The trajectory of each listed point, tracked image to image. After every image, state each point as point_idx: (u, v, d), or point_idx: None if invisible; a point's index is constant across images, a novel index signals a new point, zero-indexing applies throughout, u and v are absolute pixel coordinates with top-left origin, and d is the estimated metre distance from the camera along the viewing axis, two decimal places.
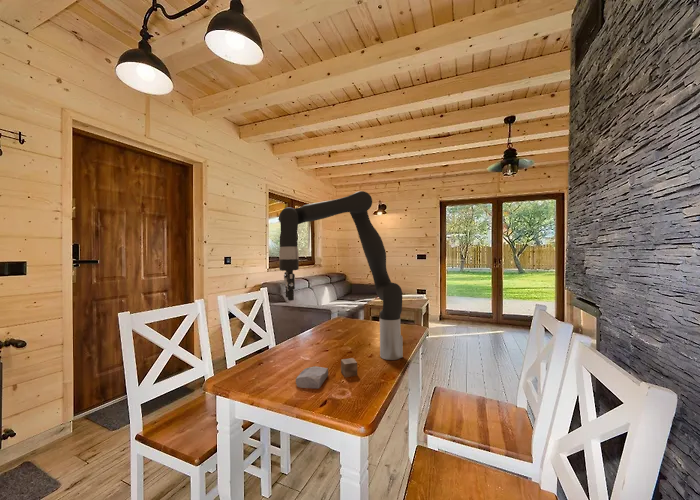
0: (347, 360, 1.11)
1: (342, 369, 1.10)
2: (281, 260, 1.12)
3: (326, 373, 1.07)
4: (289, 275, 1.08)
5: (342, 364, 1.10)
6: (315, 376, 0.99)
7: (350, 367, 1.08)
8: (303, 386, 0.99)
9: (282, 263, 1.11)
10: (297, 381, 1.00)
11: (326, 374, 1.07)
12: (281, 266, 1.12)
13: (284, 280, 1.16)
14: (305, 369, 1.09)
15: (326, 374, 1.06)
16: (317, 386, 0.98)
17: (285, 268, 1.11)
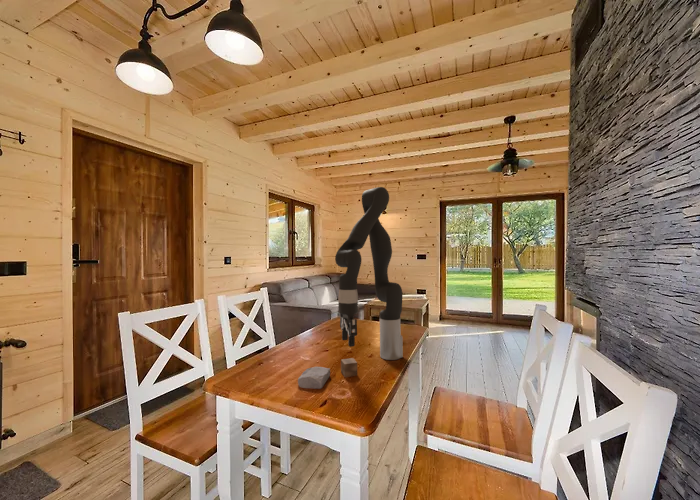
0: (347, 360, 1.11)
1: (342, 369, 1.10)
2: (341, 304, 1.08)
3: (328, 373, 1.06)
4: (352, 321, 1.04)
5: (342, 364, 1.10)
6: (317, 377, 0.99)
7: (350, 367, 1.08)
8: (305, 386, 0.99)
9: (343, 307, 1.08)
10: (299, 381, 1.00)
11: (328, 374, 1.06)
12: (341, 310, 1.08)
13: (342, 323, 1.12)
14: (307, 369, 1.09)
15: (328, 374, 1.06)
16: (319, 386, 0.98)
17: (346, 312, 1.07)
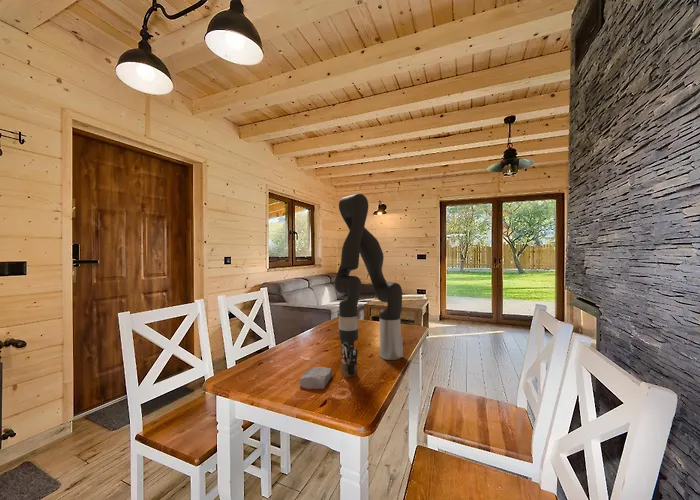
0: (347, 360, 1.11)
1: (342, 369, 1.10)
2: (342, 331, 1.08)
3: (330, 373, 1.06)
4: (352, 352, 1.04)
5: (342, 364, 1.10)
6: (319, 377, 0.99)
7: None
8: (307, 386, 0.99)
9: (343, 334, 1.07)
10: (301, 381, 1.00)
11: (330, 374, 1.06)
12: (342, 337, 1.08)
13: (343, 350, 1.12)
14: (309, 369, 1.09)
15: (330, 375, 1.06)
16: (321, 386, 0.98)
17: (346, 340, 1.07)
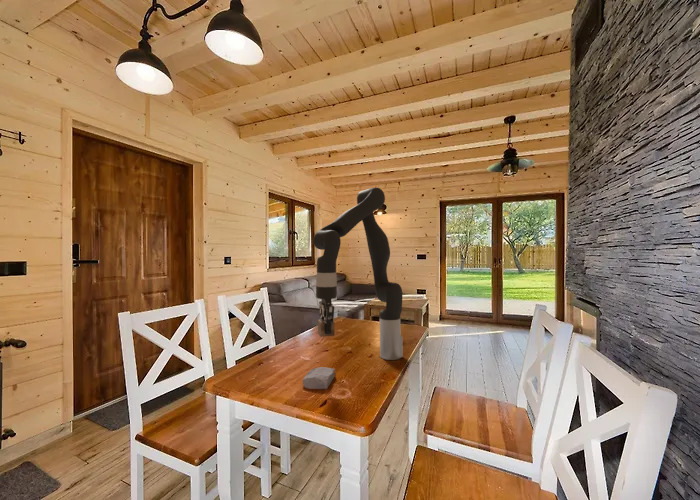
0: (324, 320, 1.05)
1: (319, 329, 1.04)
2: (319, 287, 1.02)
3: (333, 374, 1.06)
4: (329, 308, 0.98)
5: (319, 324, 1.04)
6: (322, 377, 0.99)
7: None
8: (310, 387, 0.99)
9: (320, 291, 1.01)
10: (304, 382, 1.00)
11: (333, 375, 1.06)
12: (319, 294, 1.01)
13: (320, 309, 1.05)
14: (312, 370, 1.08)
15: (333, 375, 1.06)
16: (325, 387, 0.98)
17: (323, 297, 1.01)
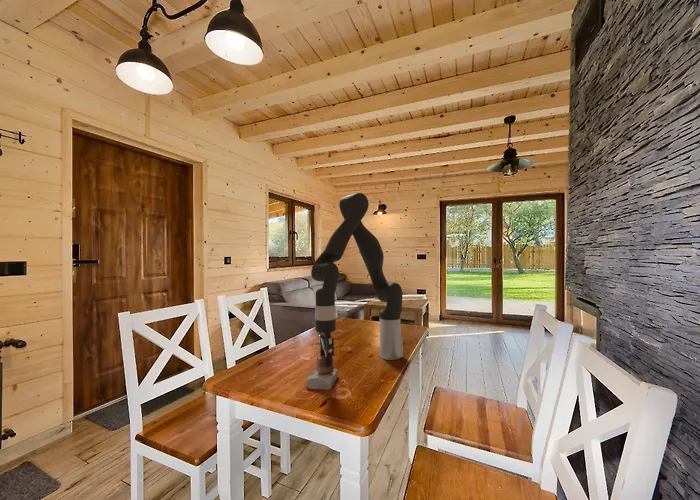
0: (323, 356, 1.05)
1: (318, 366, 1.04)
2: (318, 321, 1.01)
3: (336, 374, 1.06)
4: (328, 340, 0.97)
5: (317, 360, 1.04)
6: (326, 378, 0.99)
7: (325, 363, 1.02)
8: (314, 387, 0.98)
9: (319, 324, 1.00)
10: (307, 382, 0.99)
11: (336, 375, 1.06)
12: (318, 328, 1.01)
13: (319, 341, 1.05)
14: (315, 370, 1.08)
15: (336, 375, 1.05)
16: (328, 387, 0.98)
17: (322, 330, 1.00)
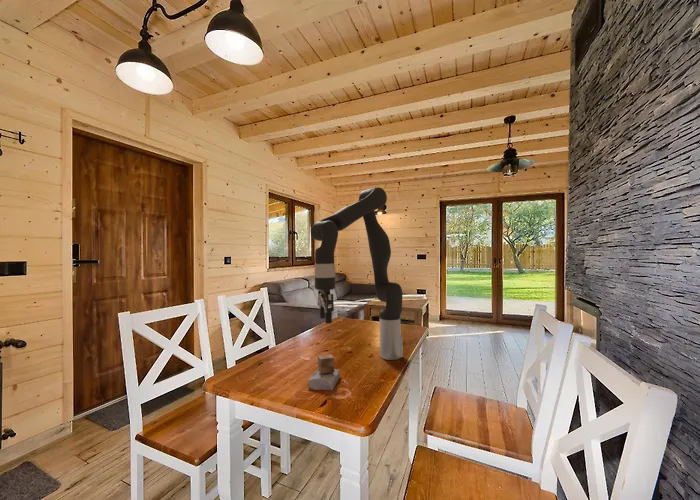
0: (324, 356, 1.05)
1: (319, 366, 1.04)
2: (317, 278, 1.02)
3: (338, 374, 1.05)
4: (328, 296, 0.98)
5: (319, 360, 1.04)
6: (328, 378, 0.98)
7: (326, 363, 1.02)
8: (316, 388, 0.98)
9: (319, 282, 1.01)
10: (310, 383, 0.99)
11: (338, 376, 1.05)
12: (317, 285, 1.02)
13: (319, 300, 1.06)
14: (316, 371, 1.08)
15: (338, 376, 1.05)
16: (330, 388, 0.97)
17: (322, 287, 1.01)
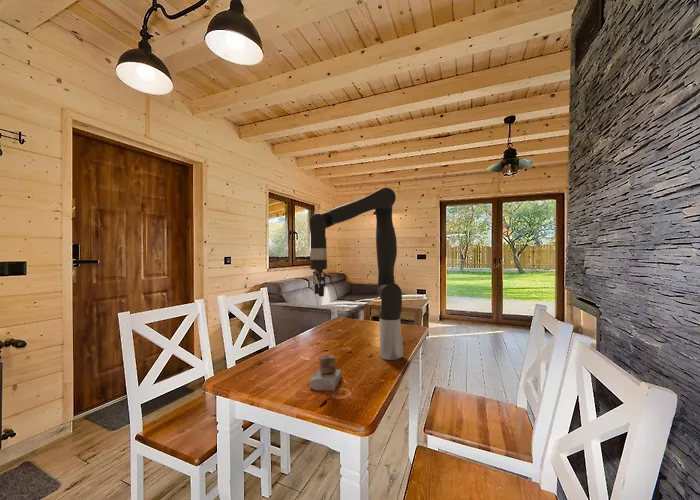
0: (325, 356, 1.05)
1: (320, 366, 1.04)
2: (312, 260, 1.25)
3: (340, 375, 1.05)
4: (321, 274, 1.21)
5: (320, 360, 1.04)
6: (330, 378, 0.98)
7: (327, 363, 1.02)
8: (318, 388, 0.98)
9: (314, 263, 1.25)
10: (311, 383, 0.99)
11: (340, 376, 1.05)
12: (312, 266, 1.25)
13: (314, 278, 1.29)
14: (318, 371, 1.07)
15: (339, 376, 1.05)
16: (332, 388, 0.97)
17: (316, 267, 1.24)
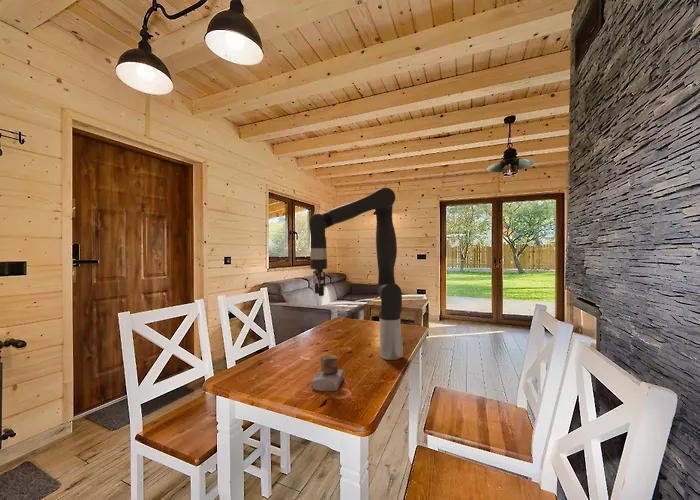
0: (327, 356, 1.05)
1: (322, 366, 1.04)
2: (312, 260, 1.26)
3: (342, 375, 1.05)
4: (320, 273, 1.22)
5: (322, 361, 1.04)
6: (332, 379, 0.98)
7: (330, 363, 1.02)
8: (320, 389, 0.97)
9: (314, 262, 1.25)
10: (314, 384, 0.98)
11: (342, 376, 1.05)
12: (312, 265, 1.26)
13: (314, 278, 1.30)
14: (320, 371, 1.07)
15: (342, 376, 1.05)
16: (335, 388, 0.97)
17: (316, 267, 1.25)
